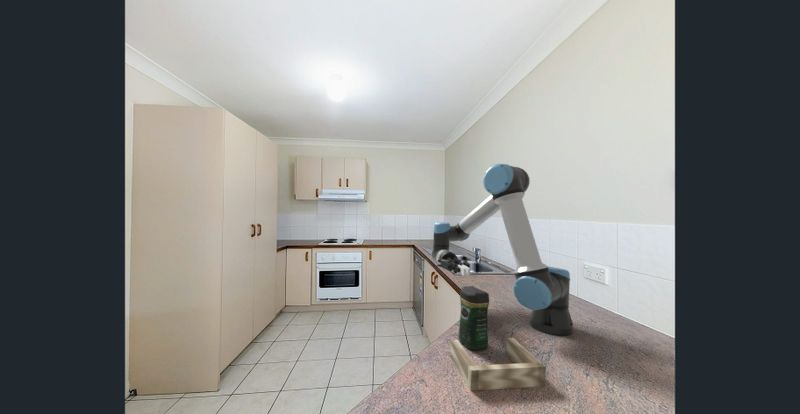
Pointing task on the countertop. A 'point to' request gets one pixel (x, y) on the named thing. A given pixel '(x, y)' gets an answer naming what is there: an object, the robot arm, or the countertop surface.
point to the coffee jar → (474, 318)
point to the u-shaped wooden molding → (500, 369)
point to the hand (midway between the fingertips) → (466, 272)
